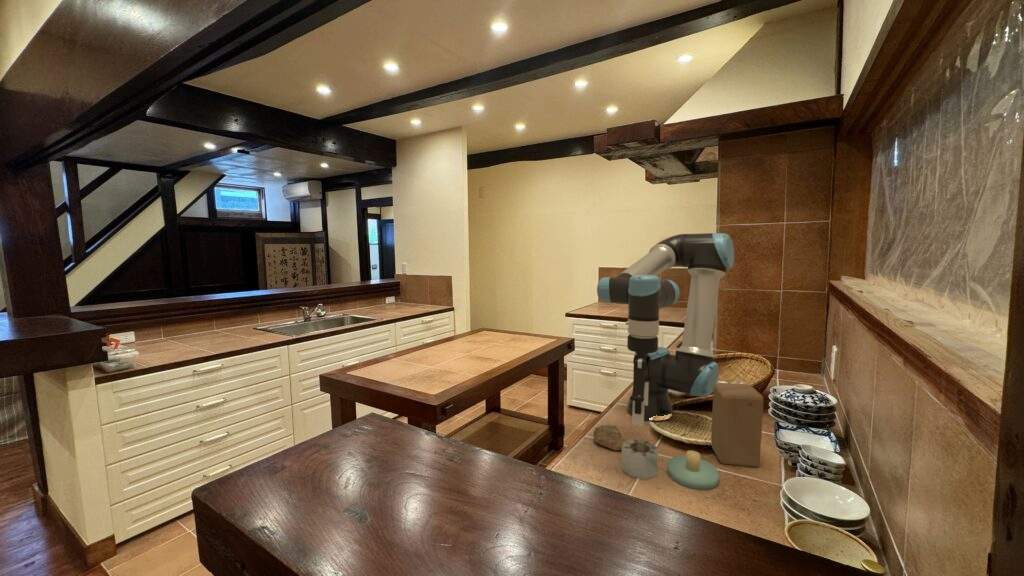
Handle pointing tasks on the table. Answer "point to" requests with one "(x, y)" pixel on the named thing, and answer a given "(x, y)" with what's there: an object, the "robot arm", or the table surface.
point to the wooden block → (737, 424)
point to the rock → (609, 437)
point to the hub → (693, 471)
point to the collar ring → (639, 458)
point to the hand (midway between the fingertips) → (640, 414)
